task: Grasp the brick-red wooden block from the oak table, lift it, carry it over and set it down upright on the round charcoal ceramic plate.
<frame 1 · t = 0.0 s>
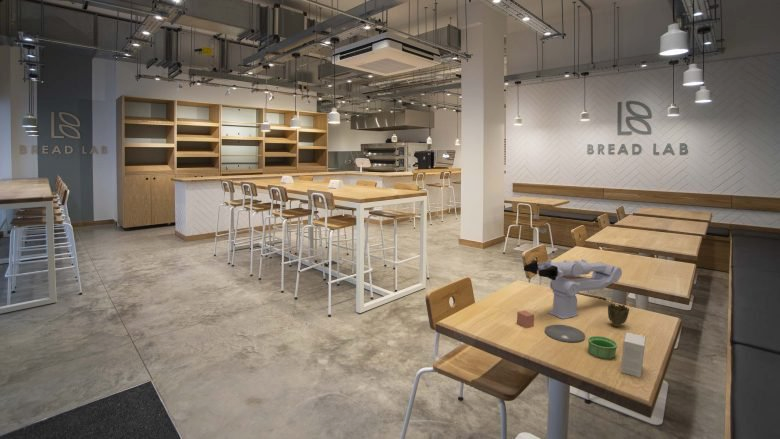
hand: (532, 270, 160), 22 cm above the table, tool horizontal, fingers open, 7 cm apart
small box: (631, 370, 128), on the table
ramekin: (601, 354, 139), on the table
cup: (616, 326, 161), on the table
plate: (564, 334, 153), on the table
block: (525, 325, 161), on the table
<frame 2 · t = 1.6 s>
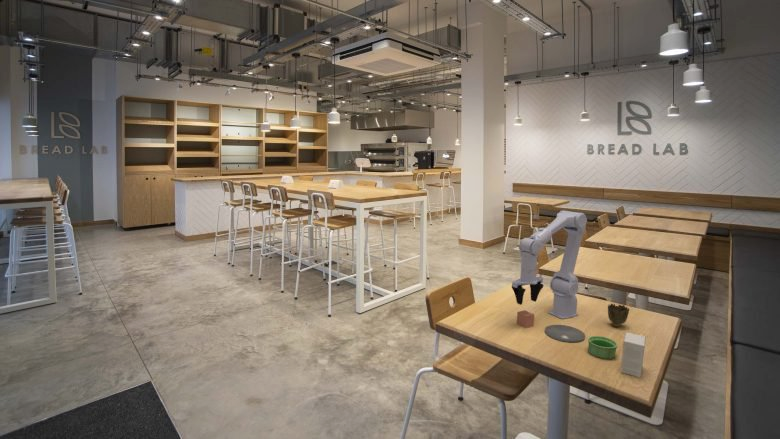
hand: (526, 302, 160), 9 cm above the table, tool pointing down, fingers open, 7 cm apart
nothing on the table moved.
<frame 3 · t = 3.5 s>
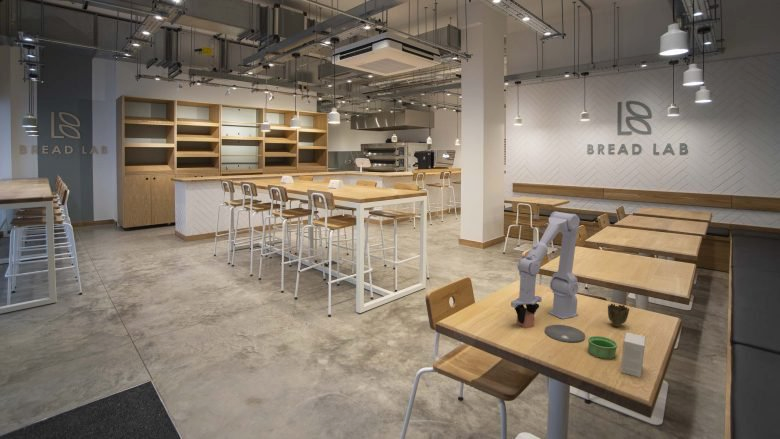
hand: (525, 321, 161), 1 cm above the table, tool pointing down, fingers closed on block, 4 cm apart
block: (525, 324, 161), on the table, touching gripper
everything else where it was.
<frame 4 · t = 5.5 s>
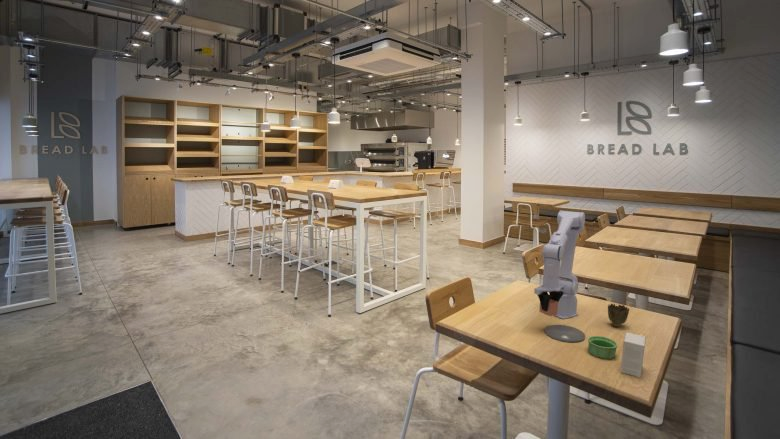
hand: (548, 309, 155), 8 cm above the table, tool pointing down, fingers closed on block, 4 cm apart
block: (548, 313, 156), point 7 cm above the table, touching gripper
everything else where it was.
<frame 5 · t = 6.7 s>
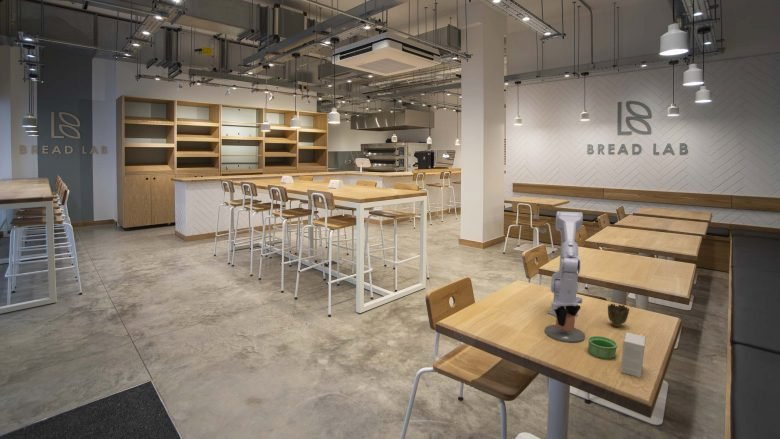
hand: (565, 324, 153), 4 cm above the table, tool pointing down, fingers closed on block, 4 cm apart
block: (564, 327, 153), point 3 cm above the table, touching gripper
everything else where it was.
when the fingers open (3 cm above the table, at t = 7.7 s): block drops 1 cm, resting on plate.
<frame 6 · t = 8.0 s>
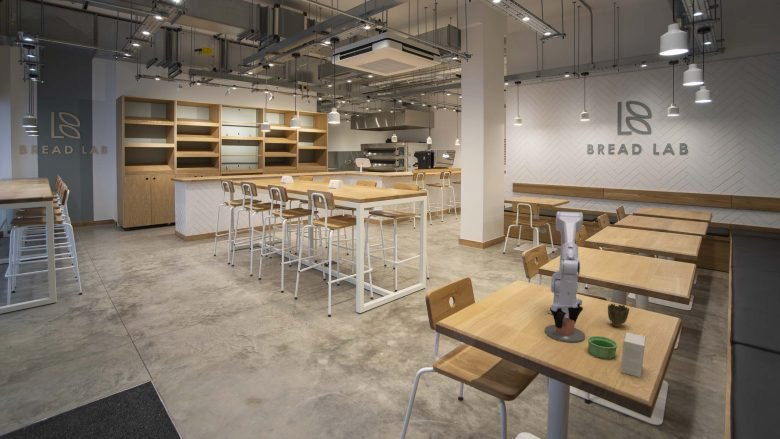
hand: (565, 325, 153), 3 cm above the table, tool pointing down, fingers open, 7 cm apart
block: (564, 332, 153), point 1 cm above the table, touching plate
everything else where it was.
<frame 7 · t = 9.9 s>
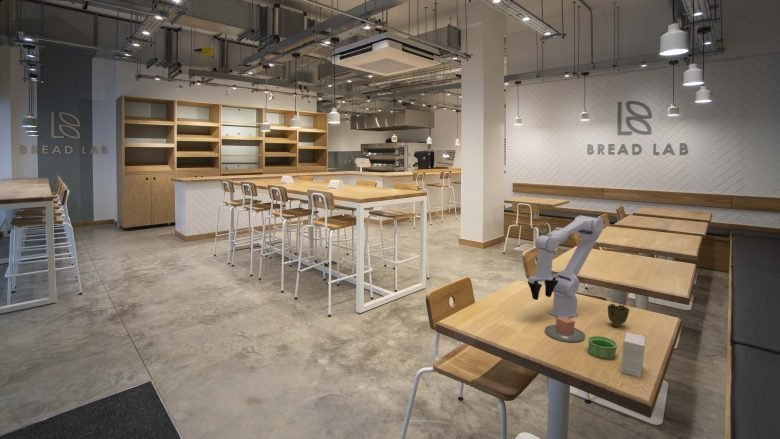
hand: (541, 297, 165), 9 cm above the table, tool pointing down, fingers open, 7 cm apart
nothing on the table moved.
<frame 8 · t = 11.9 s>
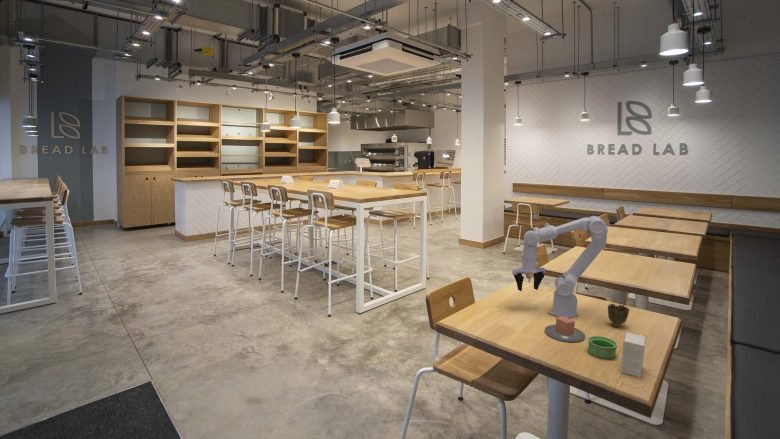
hand: (527, 289, 175), 9 cm above the table, tool pointing down, fingers open, 7 cm apart
nothing on the table moved.
at the end: block inside the target area on the plate (0.1 cm from its centre), point 0.8 cm above the plate's base; block tilted 0°; the gripper is holding nothing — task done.
